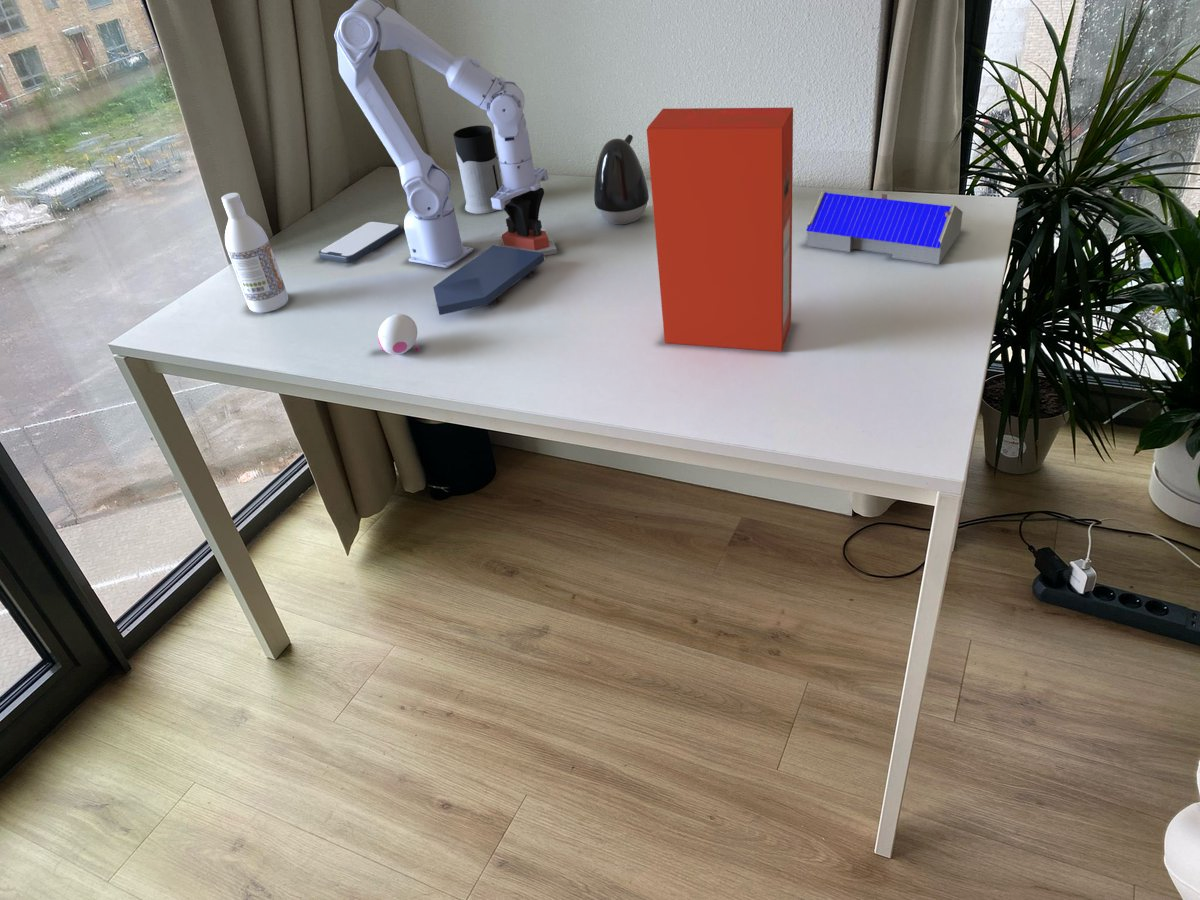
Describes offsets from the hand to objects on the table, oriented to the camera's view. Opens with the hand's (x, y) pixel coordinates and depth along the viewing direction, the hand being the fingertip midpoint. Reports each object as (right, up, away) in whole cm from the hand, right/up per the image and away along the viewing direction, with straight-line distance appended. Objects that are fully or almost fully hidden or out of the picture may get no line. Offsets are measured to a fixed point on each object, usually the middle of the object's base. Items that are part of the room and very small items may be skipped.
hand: (527, 232), depth 168 cm
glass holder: (-7, +11, +21) cm, 25 cm away
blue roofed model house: (+61, -4, -11) cm, 62 cm away
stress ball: (-18, -24, -23) cm, 38 cm away
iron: (0, -3, +2) cm, 3 cm away
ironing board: (-7, -13, -10) cm, 18 cm away
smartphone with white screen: (-33, 0, +12) cm, 35 cm away
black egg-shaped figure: (+18, +4, +8) cm, 20 cm away
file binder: (+32, -23, -31) cm, 50 cm away
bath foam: (-45, -14, -4) cm, 48 cm away
